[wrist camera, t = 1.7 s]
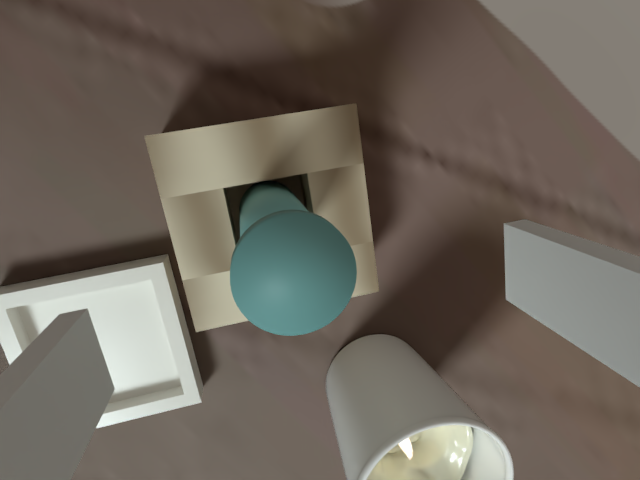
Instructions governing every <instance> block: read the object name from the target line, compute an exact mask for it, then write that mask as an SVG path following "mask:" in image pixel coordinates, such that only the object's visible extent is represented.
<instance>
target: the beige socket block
mask: <svg viewBox="0 0 640 480" xmlns="http://www.w3.org/2000/svg"><path fill="white" fill-rule="evenodd" d="M144 137H145V141H146V145H147V148H148V152H149V156H150V160H151V164H152V167H153V171H154V175H155V179H156V183H157V186H158V190H159V194H160V198H161V202H162V205H163V209H164V213H165V217H166V221H167V224H168V228H169V232H170V236H171V240H172V243H173V247H174V251H175V255H176V259H177V262H178V266H179V270H180V274H181V278H182V281H183V285H184V289H185V293H186V297H187V300H188V304H189V308H190V312H191V316H192V319H193V323H194V327H195V331H196V332H199V331H203V330H208V329H212V328H217V327H221V326H226V325H230V324H235V323H239V322H244V321H248V319H247V318H246V317H245V316H244V315H243V314H242V313H241V311H240V310H239V308H238V307H237V305H236V303H235V300H234V298H233V295H232V292H231V286H230V265H231V258H232V254H233V251H234V249H235V246H236V244H237V242H238V240H239V239H240V214H239V207H240V201H241V198H242V196H243V194H244V193H245V192H246V190H247V189H248V188H249V187H251V186H252V185H254V184H256V183H258V182H261V181H276V182H279V183H281V184H283V185H285V186H286V187H287V188H289V190H290V191H291V192H292V193H293V194H294V195H295V196H296V197H297V199H298V200H299V201H300V202H301V203H302V204H303V206H304V207H305V208H306V209H307V210H308V211H309V212H312V213H314V214H317V215H319V216H321V217H323V218H325V219H326V220H328V221H329V222H330V223H331V224H333V225H334V226H335V227H336V228H337V229H338V230H339V231H340V232H341V233H342V235H343V236H344V237H345V238H346V240H347V241H348V242H349V244H350V246H351V248H352V250H353V253H354V256H355V260H356V266H357V278H356V284H355V288H354V291H353V294H352V296H351V297H356V296H360V295H365V294H369V293H374V292H378V291H379V287H378V279H377V270H376V262H375V254H374V245H373V237H372V229H371V220H370V212H369V204H368V196H367V187H366V179H365V171H364V162H363V154H362V146H361V137H360V129H359V121H358V113H357V104H356V103H354V104H348V105H341V106H335V107H329V108H322V109H316V110H309V111H303V112H296V113H290V114H284V115H277V116H271V117H264V118H258V119H251V120H245V121H239V122H232V123H226V124H219V125H213V126H206V127H200V128H194V129H187V130H181V131H174V132H168V133H161V134H155V135H148V136H144Z"/></svg>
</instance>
